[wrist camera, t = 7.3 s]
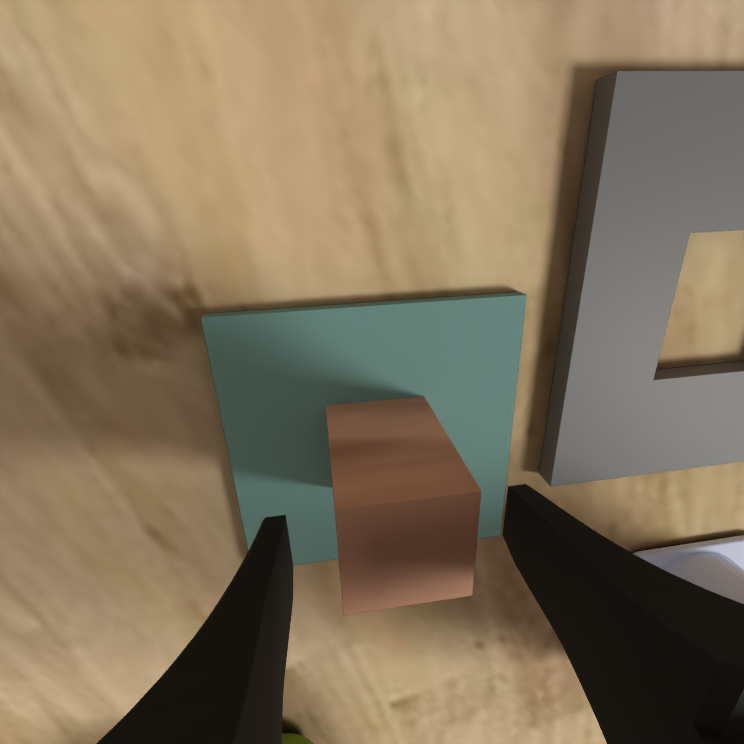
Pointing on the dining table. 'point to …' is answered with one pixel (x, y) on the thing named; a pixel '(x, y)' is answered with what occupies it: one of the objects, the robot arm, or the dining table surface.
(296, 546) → the teal mat
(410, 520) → the terracotta block
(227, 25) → the dining table surface
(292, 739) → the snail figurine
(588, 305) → the charcoal pocket board
